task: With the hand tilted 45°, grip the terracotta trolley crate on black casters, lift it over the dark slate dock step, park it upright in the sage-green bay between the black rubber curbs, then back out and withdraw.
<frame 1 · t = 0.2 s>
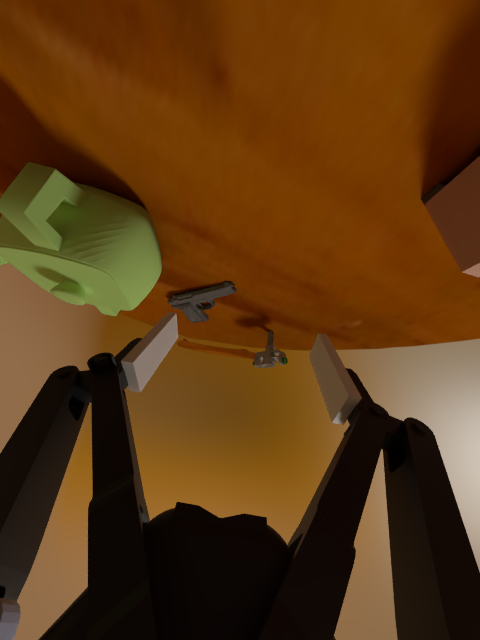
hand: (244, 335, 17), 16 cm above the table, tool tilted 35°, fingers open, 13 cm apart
teapot: (101, 221, 27), on the table
handgun: (209, 300, 44), on the table
mechanical component: (270, 331, 54), on the table
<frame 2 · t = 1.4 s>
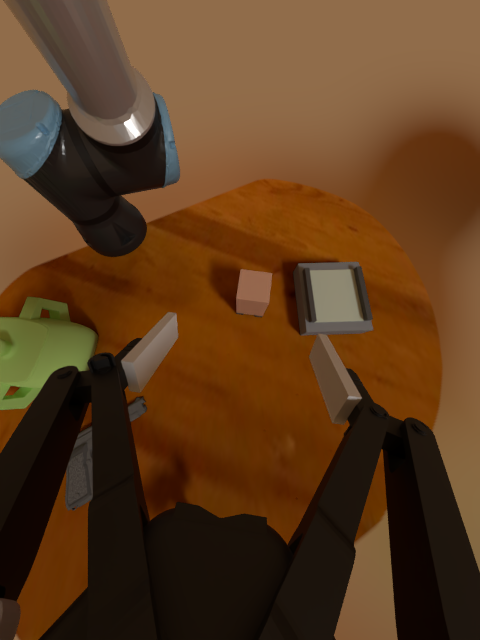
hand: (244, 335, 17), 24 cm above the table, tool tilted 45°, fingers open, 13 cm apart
teapot: (59, 352, 41), on the table
handgun: (113, 445, 37), on the table
dock step: (325, 301, 44), on the table
trolley crate: (250, 303, 44), on the table
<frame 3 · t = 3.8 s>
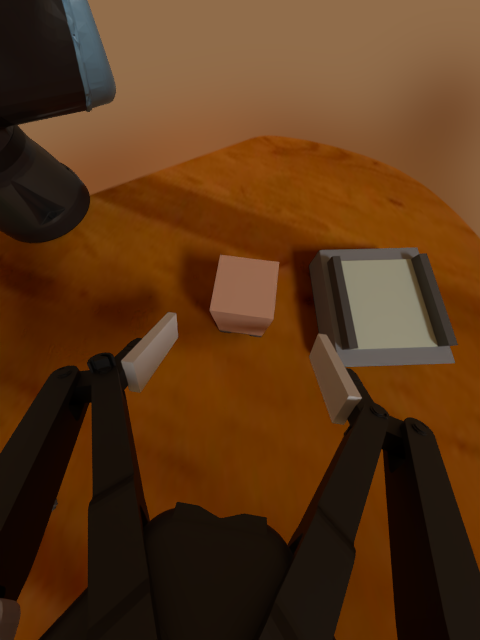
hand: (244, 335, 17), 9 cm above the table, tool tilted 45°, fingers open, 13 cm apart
dock step: (361, 311, 28), on the table
trolley crate: (243, 314, 27), on the table
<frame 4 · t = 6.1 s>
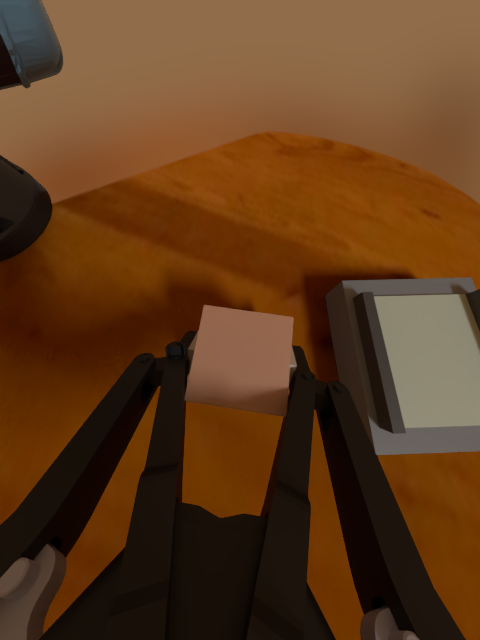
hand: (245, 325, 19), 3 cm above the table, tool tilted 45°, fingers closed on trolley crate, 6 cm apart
dock step: (394, 357, 21), on the table
trolley crate: (240, 362, 21), on the table, touching gripper
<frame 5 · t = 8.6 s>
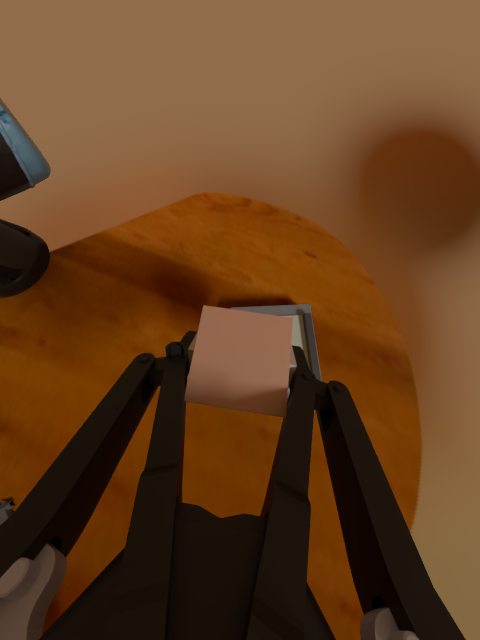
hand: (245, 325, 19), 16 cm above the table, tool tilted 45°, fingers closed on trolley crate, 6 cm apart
dock step: (270, 353, 34), on the table
trolley crate: (240, 362, 21), point 13 cm above the table, touching gripper
when the fingers open (9 cm above the table, at t = 11.0 s): trolley crate drops 1 cm, resting on dock step.
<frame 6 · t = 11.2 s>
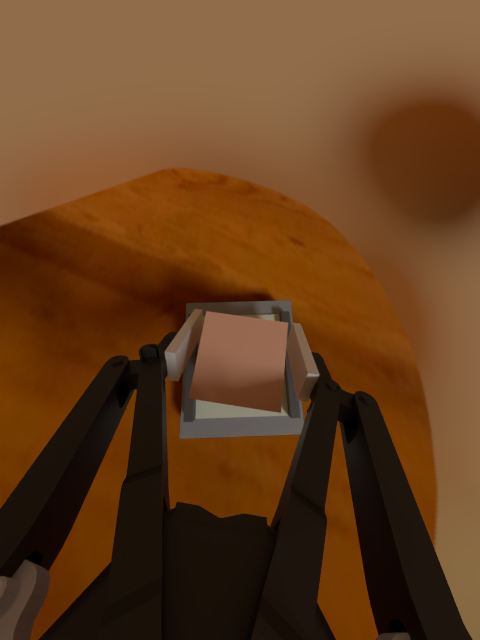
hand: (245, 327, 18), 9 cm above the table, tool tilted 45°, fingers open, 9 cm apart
dock step: (240, 363, 26), on the table
trolley crate: (240, 363, 22), point 4 cm above the table, touching dock step
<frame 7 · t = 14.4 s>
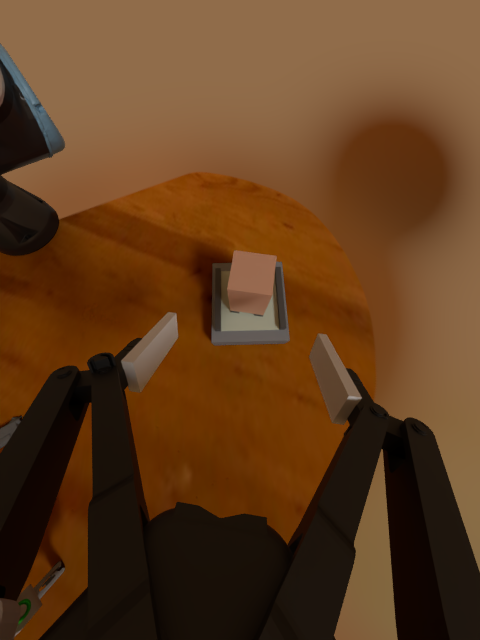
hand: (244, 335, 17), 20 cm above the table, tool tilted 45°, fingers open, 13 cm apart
dock step: (247, 306, 39), on the table
mechanical component: (60, 566, 28), on the table
trolley crate: (248, 299, 34), point 4 cm above the table, touching dock step
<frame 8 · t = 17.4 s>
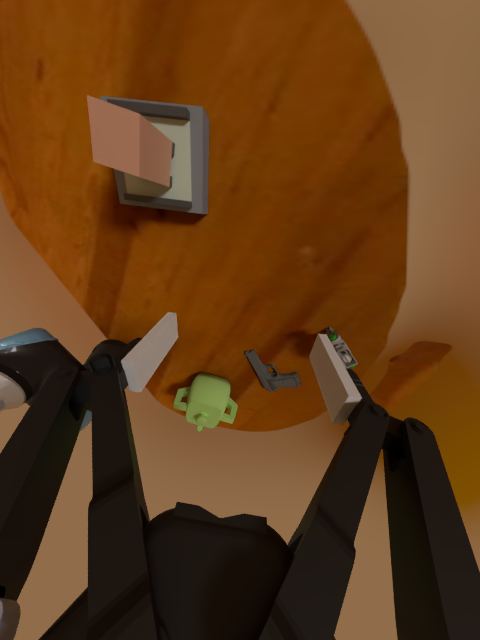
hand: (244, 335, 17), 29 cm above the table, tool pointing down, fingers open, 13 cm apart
teapot: (210, 389, 65), on the table
handgun: (272, 365, 57), on the table
dock step: (166, 166, 35), on the table
mechanical component: (328, 329, 48), on the table
trolley crate: (156, 161, 31), point 4 cm above the table, touching dock step
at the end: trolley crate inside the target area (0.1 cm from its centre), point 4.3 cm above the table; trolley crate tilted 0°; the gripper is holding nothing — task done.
